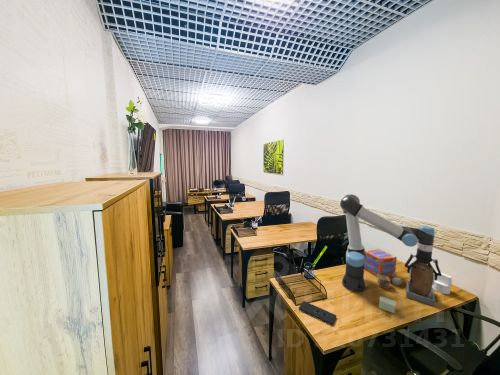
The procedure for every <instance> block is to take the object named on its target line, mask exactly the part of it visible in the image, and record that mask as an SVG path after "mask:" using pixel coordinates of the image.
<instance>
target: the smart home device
mask: <svg viewBox="0 0 500 375" xmlns="http://www.w3.org/2000/svg"><path fill="white" fill-rule="evenodd" d="M300 310H301V312H302V311H303V312H302V313H304V314H307V315H309V314H310V315H309V316H312V317H313V316H314V317H313V318H315V317H316V319H317V318H318V319H317V320H319V319H320V321H321V320H322V322H323V321H324V323H325V322H326V324H327V325H330V326H332V325H333V324H335V322H336V321H337V318H336V317H337V315H336V314H335V313H334V312H331V311H328V310H325V309H323V308H321V307H319V306H316V305H314V304H312V303H310V302H307V301H305V300H304V301H302V302H301V304H300V305H299V306H298V311H300ZM333 326H334V325H333Z"/></svg>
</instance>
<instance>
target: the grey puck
mask: <svg viewBox="0 0 500 375" xmlns="http://www.w3.org/2000/svg"><path fill="white" fill-rule="evenodd" d="M391 280H392V281H391V283H392V284H393V285H395V286H399V287H400V286H401V283H402V279H401V278H400V277H397V276H392V279H391Z"/></svg>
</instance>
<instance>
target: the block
mask: <svg viewBox="0 0 500 375" xmlns="http://www.w3.org/2000/svg"><path fill="white" fill-rule="evenodd" d="M432 267H433V266H432ZM432 267H429V266H428V264H424V263H420V262H419V263H417V264H415V265H414V266H413V267H411V277H410V278H409V281H410V284H409V287H410V288H411V289H412V290H413V291H414V292H416V293H417V294H419V295H422V296H428V295H429V294H430V292H431V289H432V286H433V285H432V282H433V274H434V273H433V268H434V267H433V268H432Z"/></svg>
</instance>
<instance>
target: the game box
mask: <svg viewBox="0 0 500 375" xmlns="http://www.w3.org/2000/svg"><path fill="white" fill-rule="evenodd" d="M365 253H366V260H365V266H364V271H367V272H369V274H370V273H371V274H372V275H373V276H375V277H376V278H378V275H382V276H388V277H389V278H390V277H396V269H397V256H395V255H393V254H391V253H389V252H386V251H384V250H382V249H380V248H379V249H377V248H376V249H372V250H371V249H369V250H365Z"/></svg>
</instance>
